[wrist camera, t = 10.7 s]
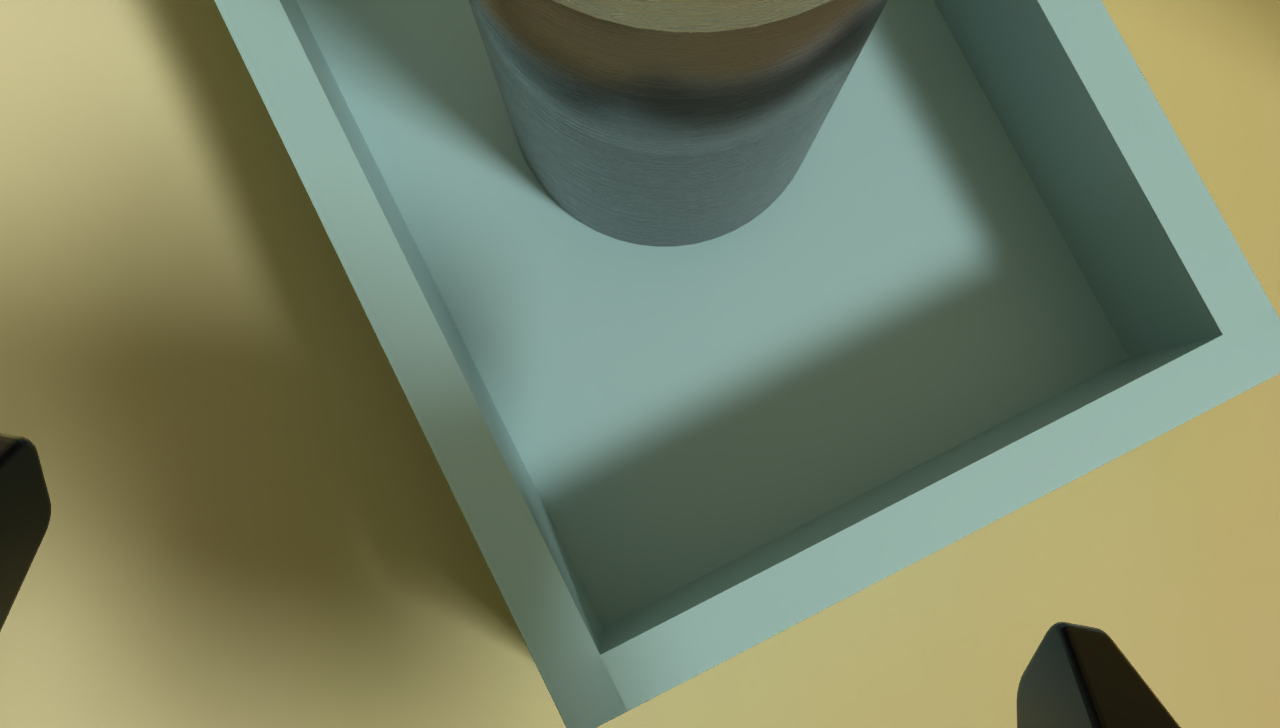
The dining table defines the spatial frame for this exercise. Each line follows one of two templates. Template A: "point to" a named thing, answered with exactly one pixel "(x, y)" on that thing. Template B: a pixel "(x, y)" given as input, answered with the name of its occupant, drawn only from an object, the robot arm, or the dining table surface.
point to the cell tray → (766, 319)
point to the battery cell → (669, 103)
